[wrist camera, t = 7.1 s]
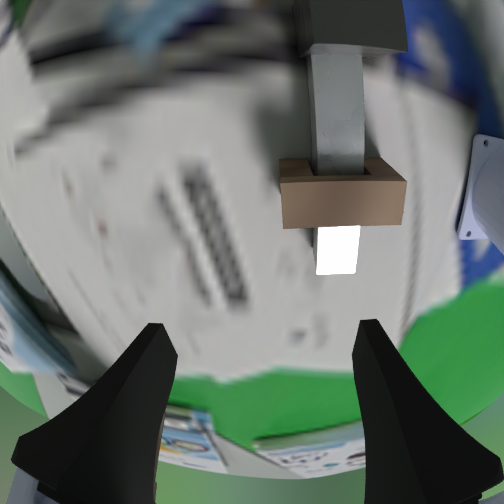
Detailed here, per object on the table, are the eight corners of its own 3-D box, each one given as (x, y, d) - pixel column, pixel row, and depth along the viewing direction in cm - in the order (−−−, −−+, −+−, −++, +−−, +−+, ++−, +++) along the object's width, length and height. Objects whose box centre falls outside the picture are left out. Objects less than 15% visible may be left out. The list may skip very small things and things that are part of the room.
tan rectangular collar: (381, 158, 15) (407, 181, 12) (378, 194, 17) (401, 225, 13) (279, 159, 16) (280, 183, 13) (282, 196, 18) (283, 228, 14)
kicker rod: (355, -36, 9) (397, -85, 3) (363, 248, 19) (391, 323, 13) (270, -39, 9) (265, -99, 3) (295, 251, 20) (300, 330, 14)
